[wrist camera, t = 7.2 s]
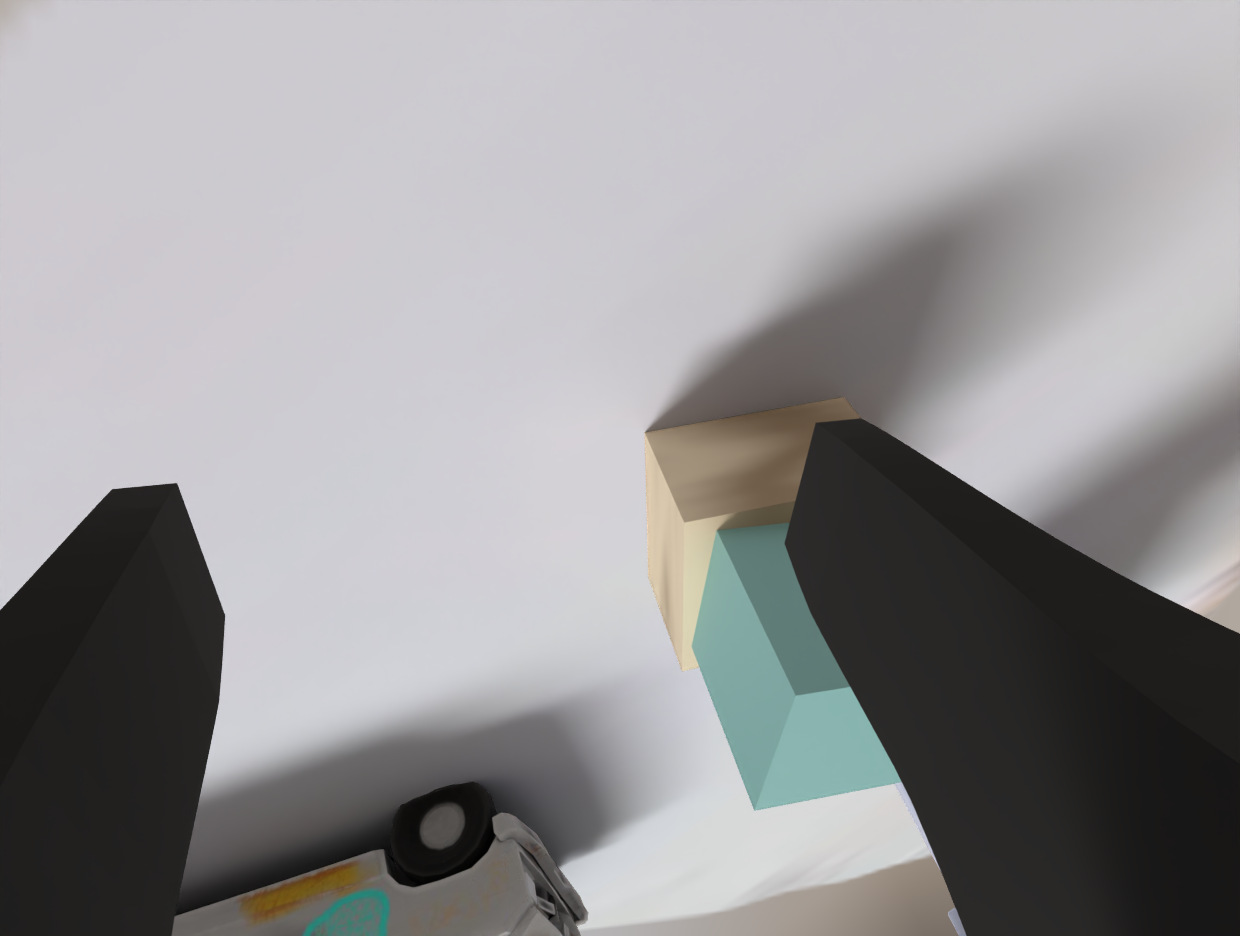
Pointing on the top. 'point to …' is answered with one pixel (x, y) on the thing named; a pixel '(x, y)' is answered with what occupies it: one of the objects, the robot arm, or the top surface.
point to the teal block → (779, 678)
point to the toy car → (416, 883)
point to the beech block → (719, 496)
